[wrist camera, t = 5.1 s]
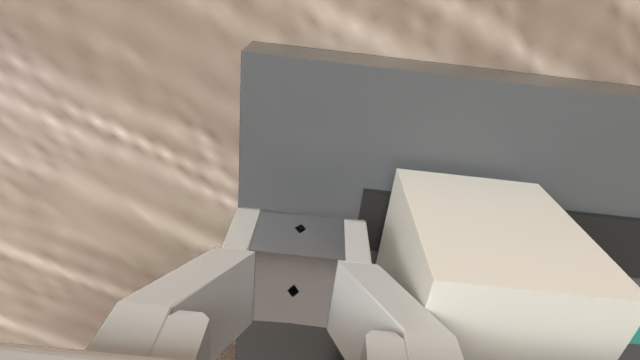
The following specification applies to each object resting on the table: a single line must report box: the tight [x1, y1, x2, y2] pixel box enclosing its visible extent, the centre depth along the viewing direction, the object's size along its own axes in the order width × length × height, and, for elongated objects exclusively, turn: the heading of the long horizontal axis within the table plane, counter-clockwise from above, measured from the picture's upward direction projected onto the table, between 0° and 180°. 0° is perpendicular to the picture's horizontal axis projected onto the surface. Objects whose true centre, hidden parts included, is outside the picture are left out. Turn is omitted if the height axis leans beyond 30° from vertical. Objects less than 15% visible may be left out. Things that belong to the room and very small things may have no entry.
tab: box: [376, 168, 640, 360], centre depth 9 cm, size 4×4×4 cm
